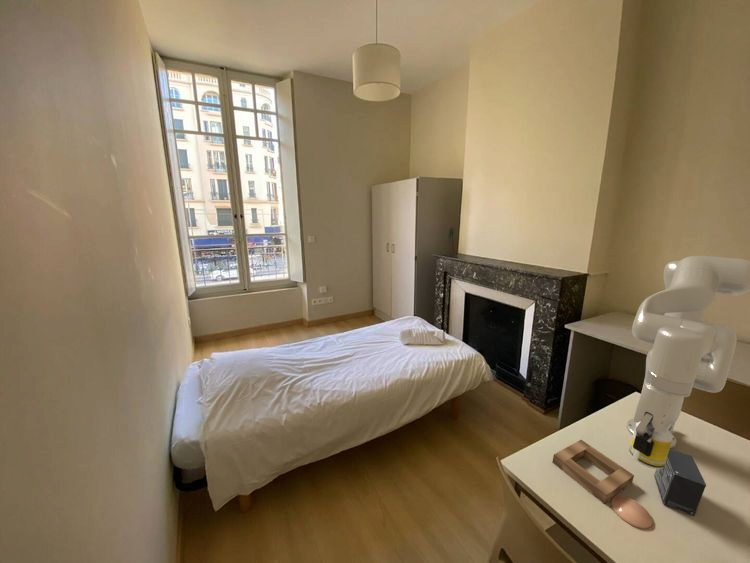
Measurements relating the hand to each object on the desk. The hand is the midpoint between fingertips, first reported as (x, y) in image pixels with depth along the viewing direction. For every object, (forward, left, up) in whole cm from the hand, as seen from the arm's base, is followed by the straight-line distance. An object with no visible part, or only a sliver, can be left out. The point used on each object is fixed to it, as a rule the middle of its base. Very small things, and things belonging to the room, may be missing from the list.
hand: (649, 445), depth 72 cm
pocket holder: (-3, -11, -21) cm, 24 cm away
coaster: (0, 0, -21) cm, 21 cm away
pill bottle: (0, 0, -4) cm, 4 cm away
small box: (-16, +3, -21) cm, 27 cm away
